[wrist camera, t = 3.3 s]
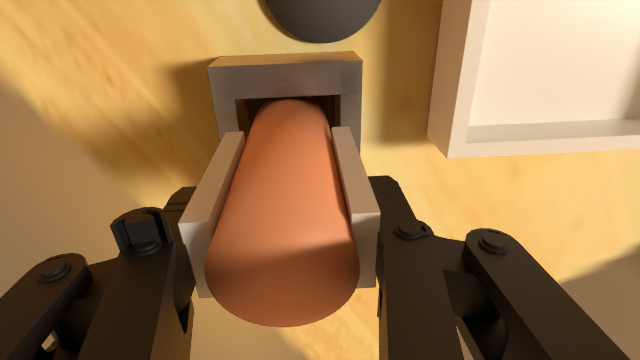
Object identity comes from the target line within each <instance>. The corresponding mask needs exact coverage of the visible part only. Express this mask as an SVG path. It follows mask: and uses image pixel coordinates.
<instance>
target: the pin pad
mask: <svg viewBox="0 0 640 360" xmlns="http://www.w3.org/2000/svg"><path fill="white" fill-rule="evenodd" d="M266 2H267V5H268V6H269V8H270V10H271V12H272V13H273V15H274V16H275V18H276V19H277V20H278V21H279V23H280V24H281V25H282V26H283V27H284V28H286V29H287V30H288V31H289V32H291V33H292V34H294V35H295V36H297V37H299V38H301V39H304V40H307V41H310V42H316V43H331V42H336V41H340V40H343V39H345V38H348V37H349V36H351V35H353V34H355V33H356V32H357V31H359V30H360V29H361V28H362V27H363V26H364V25H365V24H366V23H367V22H368V21H369V20H370V19H371V17H372V16H373V15H374V13H375V11H376V10H377V8H378V6H379V4H380V2H381V0H266Z"/></svg>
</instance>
